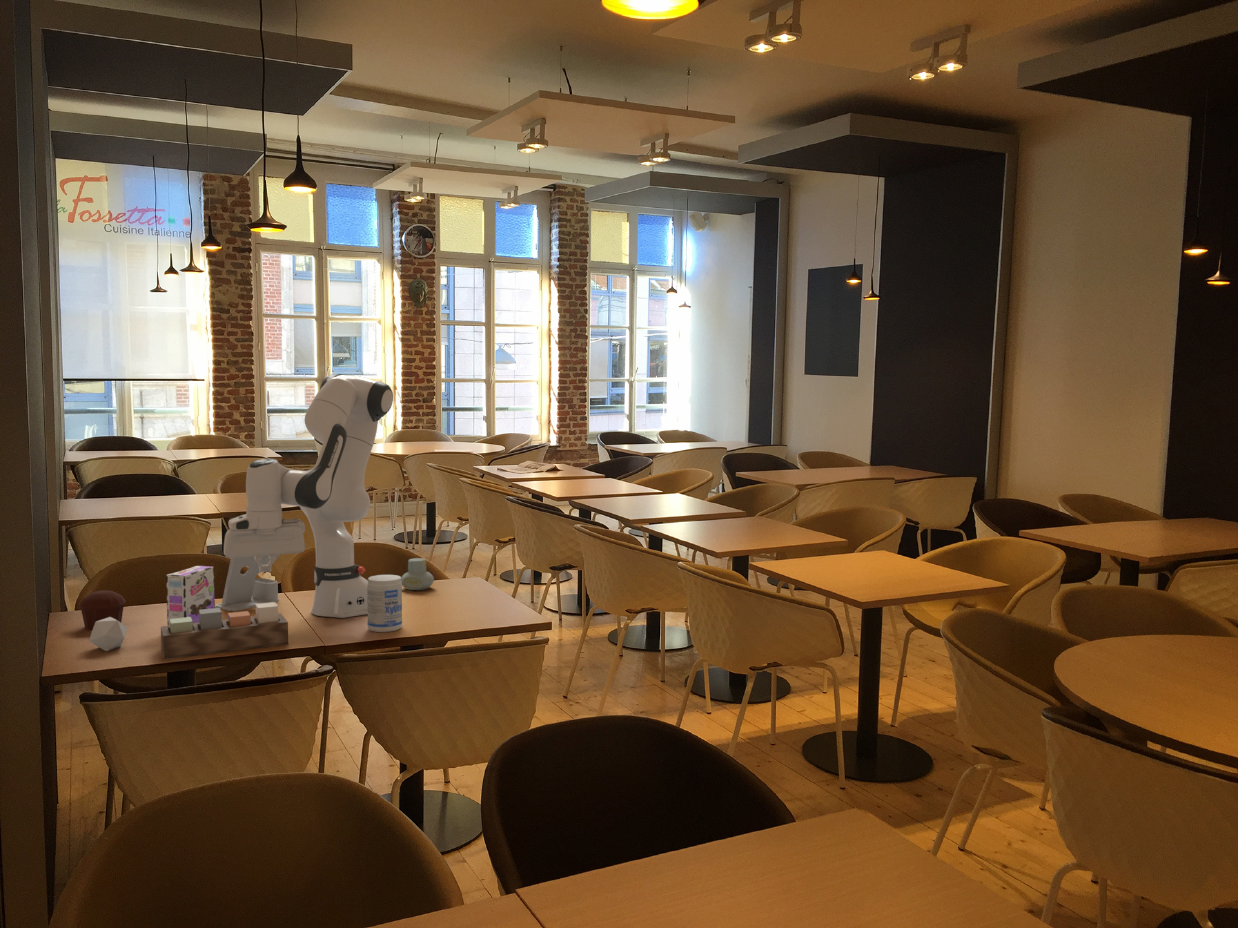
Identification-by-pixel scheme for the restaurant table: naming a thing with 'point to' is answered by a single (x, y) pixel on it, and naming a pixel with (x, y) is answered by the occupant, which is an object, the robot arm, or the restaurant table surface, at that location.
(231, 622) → the terracotta key
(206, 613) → the slate key
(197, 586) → the candy box
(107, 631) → the die
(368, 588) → the supplement tub
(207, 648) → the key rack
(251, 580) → the phone holder
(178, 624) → the sage key
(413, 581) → the air freshener
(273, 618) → the ivory key
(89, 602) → the muffin
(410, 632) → the restaurant table surface
